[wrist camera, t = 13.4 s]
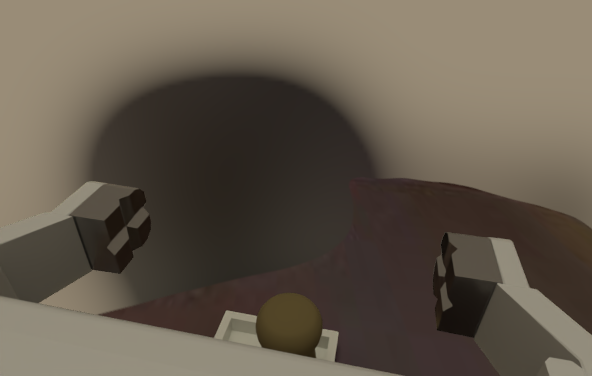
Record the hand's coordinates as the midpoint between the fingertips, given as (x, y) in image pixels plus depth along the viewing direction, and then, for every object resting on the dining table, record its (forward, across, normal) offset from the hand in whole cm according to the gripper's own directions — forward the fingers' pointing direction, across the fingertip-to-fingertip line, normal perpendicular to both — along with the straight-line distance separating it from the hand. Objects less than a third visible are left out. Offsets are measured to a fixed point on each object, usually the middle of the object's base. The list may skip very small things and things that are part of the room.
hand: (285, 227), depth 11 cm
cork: (+12, +2, +29) cm, 31 cm away
